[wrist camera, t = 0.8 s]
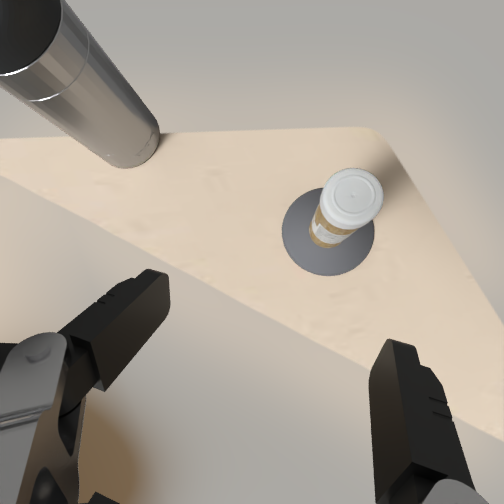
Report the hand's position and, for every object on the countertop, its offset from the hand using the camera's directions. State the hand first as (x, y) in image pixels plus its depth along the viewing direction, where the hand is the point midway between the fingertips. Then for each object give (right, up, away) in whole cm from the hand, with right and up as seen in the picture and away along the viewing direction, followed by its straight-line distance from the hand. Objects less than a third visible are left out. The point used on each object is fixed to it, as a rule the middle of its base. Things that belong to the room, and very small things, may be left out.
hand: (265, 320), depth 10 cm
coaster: (+9, +5, +24) cm, 26 cm away
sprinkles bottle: (+9, +5, +24) cm, 26 cm away
